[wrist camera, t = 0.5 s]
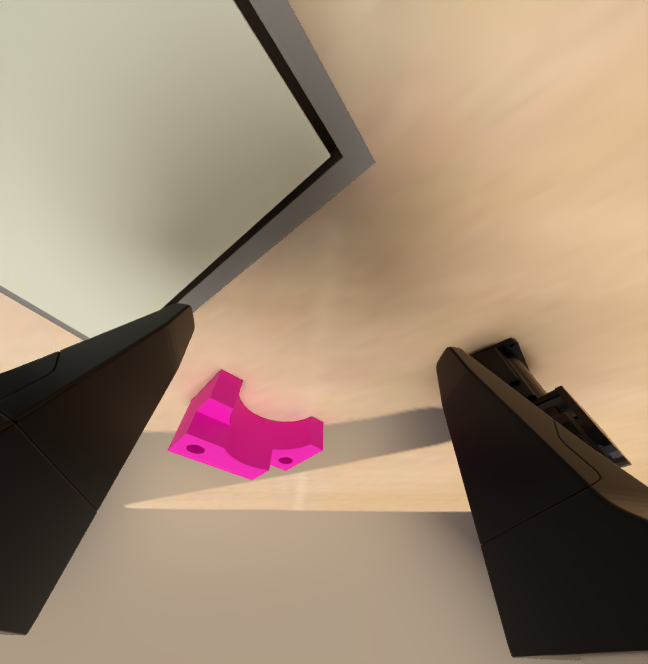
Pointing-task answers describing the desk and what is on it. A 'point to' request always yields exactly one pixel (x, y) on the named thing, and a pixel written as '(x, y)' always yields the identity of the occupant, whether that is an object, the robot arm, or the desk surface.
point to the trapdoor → (135, 150)
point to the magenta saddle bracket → (241, 433)
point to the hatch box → (306, 196)
